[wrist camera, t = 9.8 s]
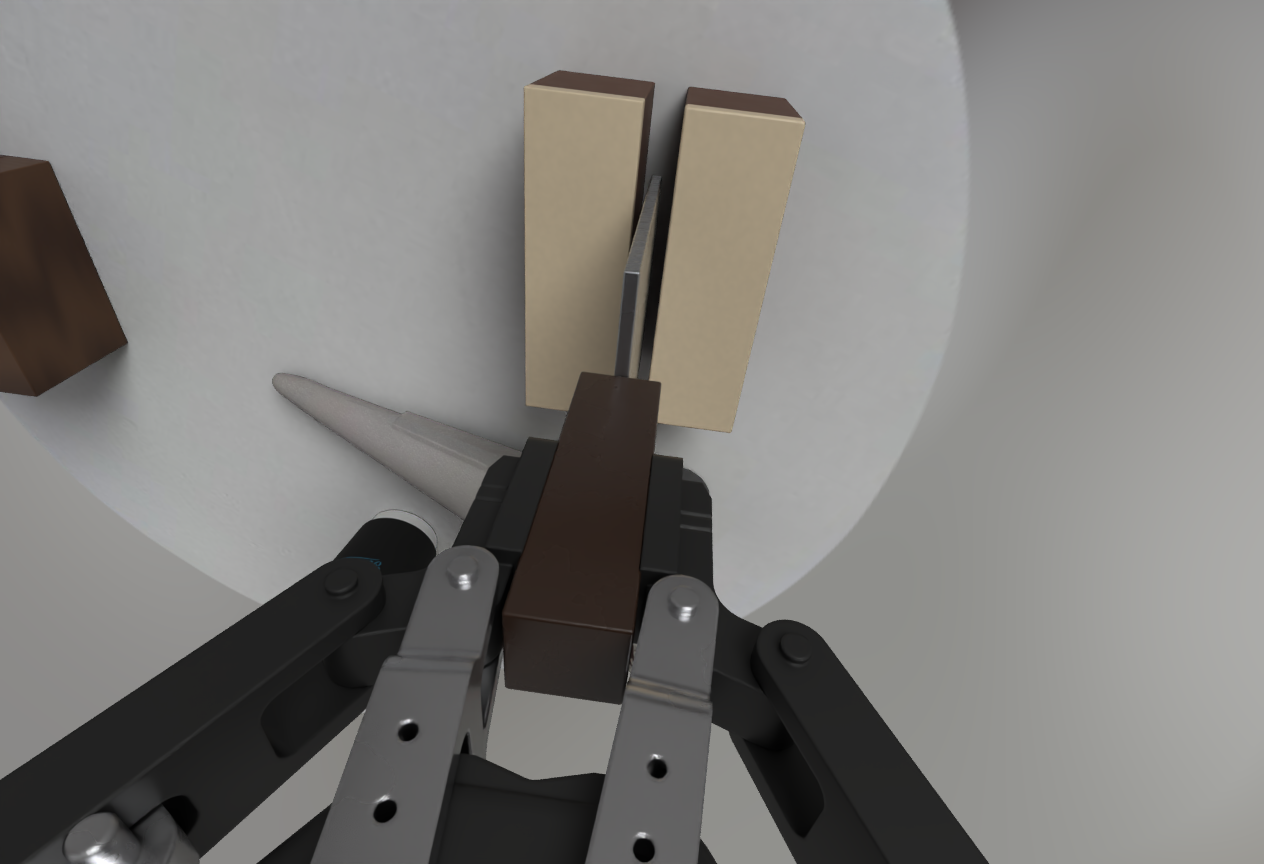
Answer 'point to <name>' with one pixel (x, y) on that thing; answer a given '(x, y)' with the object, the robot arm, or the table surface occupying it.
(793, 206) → the table surface
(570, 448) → the knife
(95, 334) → the knife stand
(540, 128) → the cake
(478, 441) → the long tapered cone
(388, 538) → the dixie cup
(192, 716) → the robot arm
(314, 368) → the table surface
